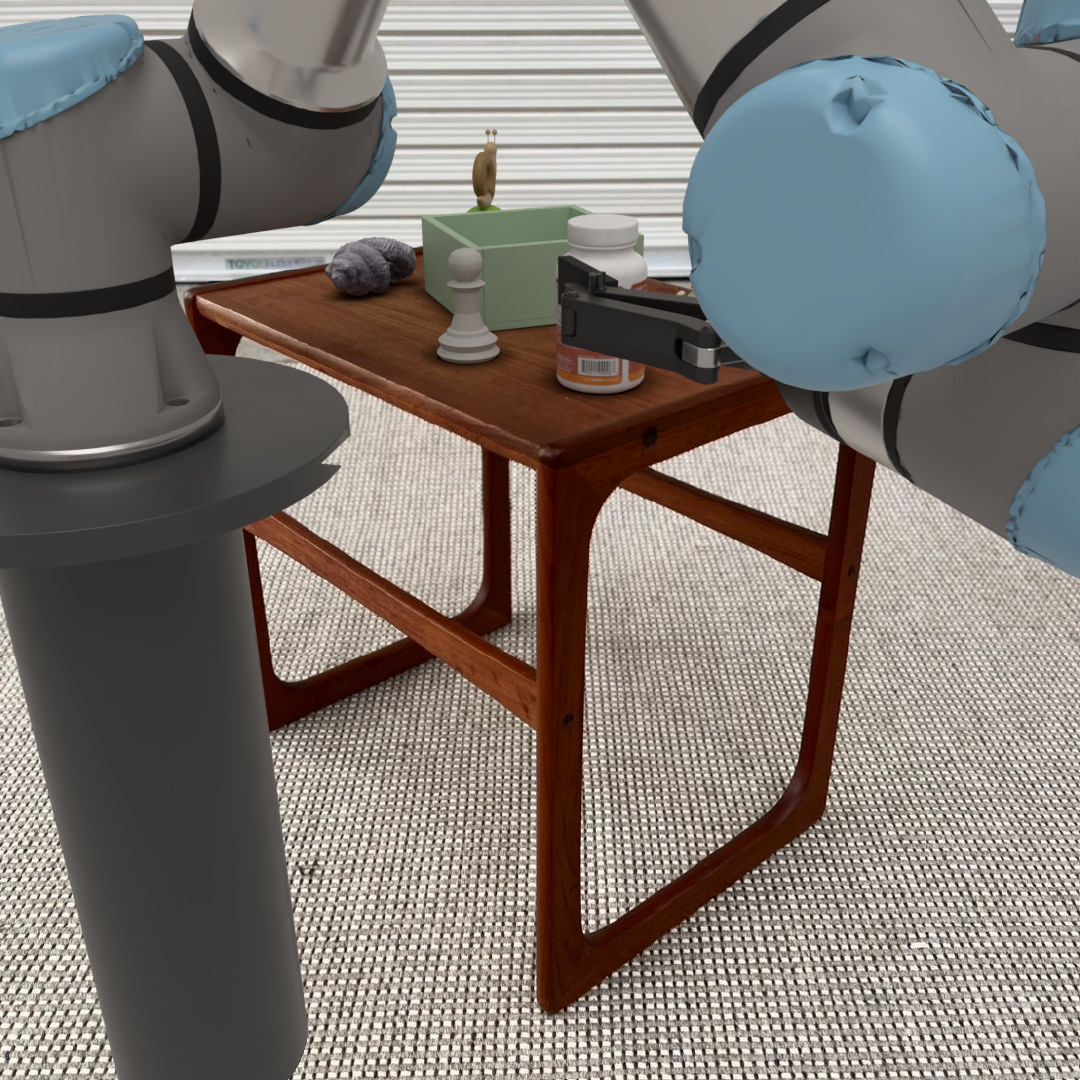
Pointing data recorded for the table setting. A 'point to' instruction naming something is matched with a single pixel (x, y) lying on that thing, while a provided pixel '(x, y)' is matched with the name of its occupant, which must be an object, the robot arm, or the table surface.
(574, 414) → the table surface
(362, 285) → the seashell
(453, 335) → the chess piece
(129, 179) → the robot arm
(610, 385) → the pill bottle
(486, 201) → the snail figurine
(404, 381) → the table surface
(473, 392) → the table surface
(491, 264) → the bin
